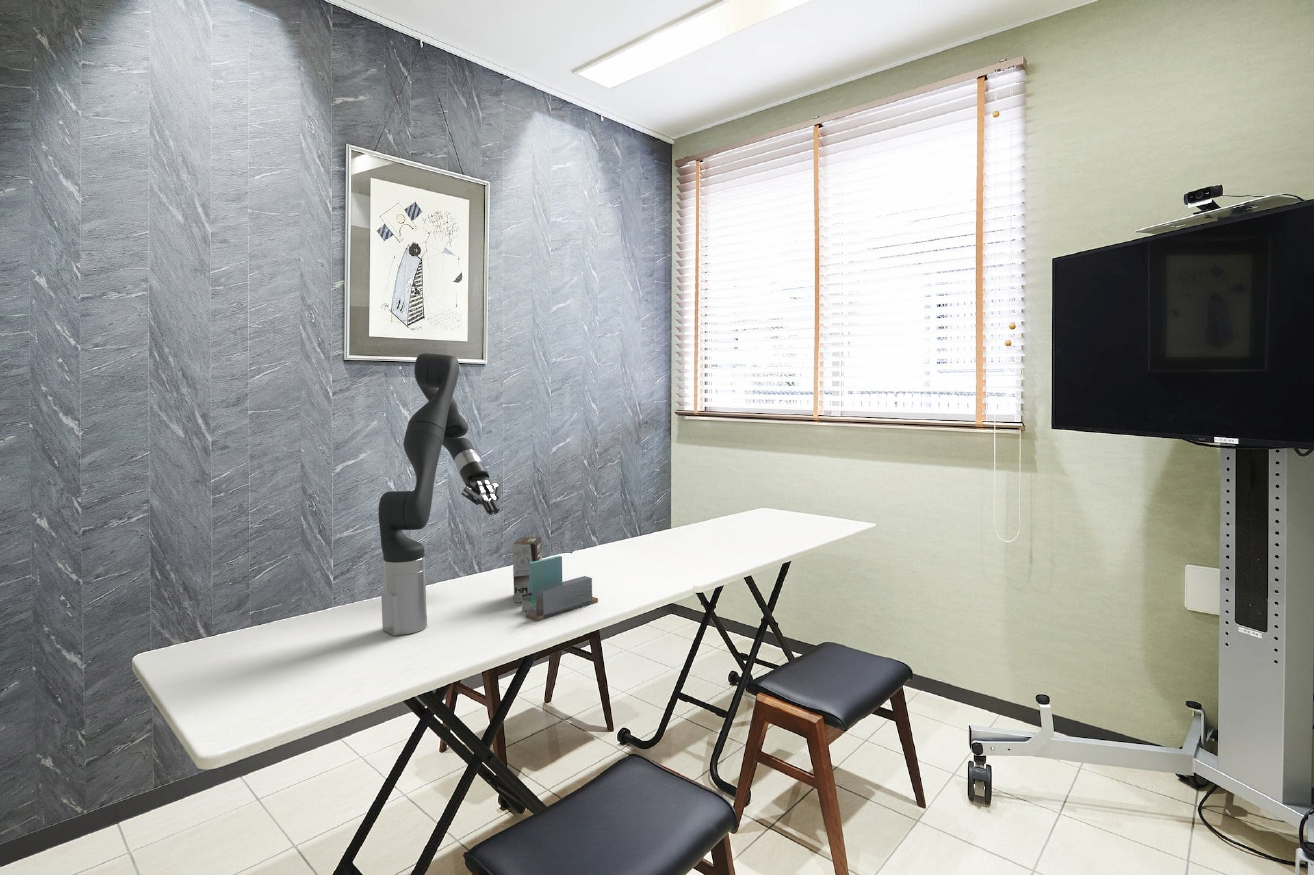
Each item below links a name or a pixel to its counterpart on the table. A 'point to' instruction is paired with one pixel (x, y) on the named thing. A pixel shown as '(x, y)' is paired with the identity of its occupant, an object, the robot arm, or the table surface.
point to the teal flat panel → (544, 574)
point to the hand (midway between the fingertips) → (494, 512)
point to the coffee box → (524, 564)
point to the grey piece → (559, 598)
